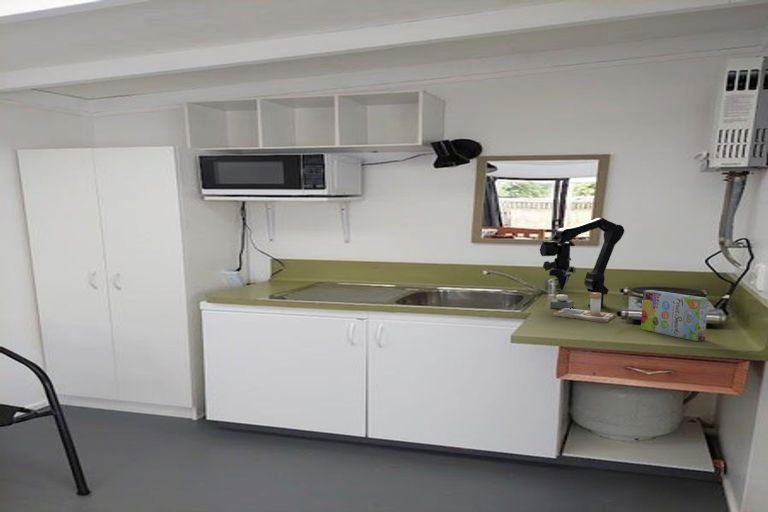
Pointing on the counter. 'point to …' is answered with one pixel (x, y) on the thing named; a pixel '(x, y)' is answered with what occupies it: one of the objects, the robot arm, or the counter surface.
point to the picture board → (584, 315)
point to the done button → (562, 298)
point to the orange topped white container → (595, 303)
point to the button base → (561, 304)
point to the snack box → (674, 314)
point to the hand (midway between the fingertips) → (562, 289)
